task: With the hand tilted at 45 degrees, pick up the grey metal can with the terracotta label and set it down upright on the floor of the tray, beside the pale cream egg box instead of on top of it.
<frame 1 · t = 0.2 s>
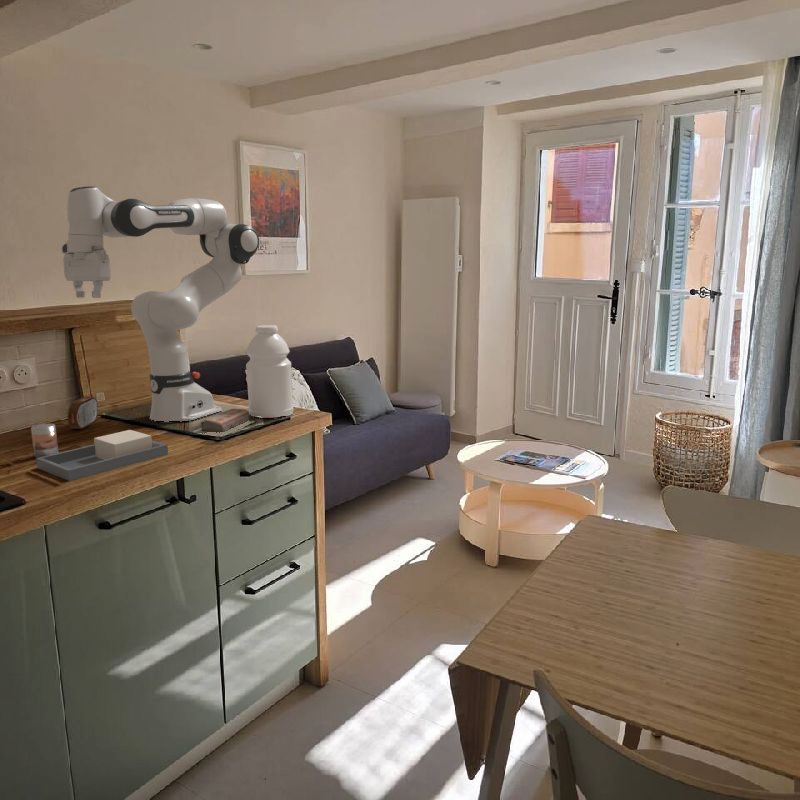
hand: (88, 297, 200), 39 cm above the table, tool pointing down, fingers open, 8 cm apart
brown grey rounded block: (85, 426, 218), on the table
bottle: (271, 414, 229), on the table
tray: (104, 462, 181), on the table
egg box: (124, 455, 186), resting on tray
packaged product: (225, 430, 213), on the table
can: (46, 456, 188), on the table
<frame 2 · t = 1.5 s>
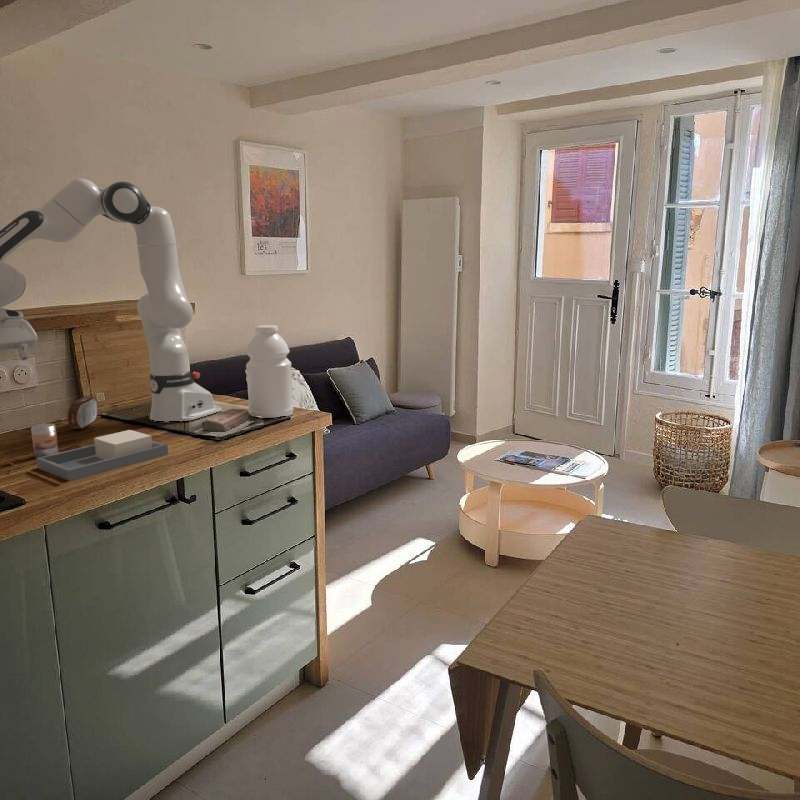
hand: (7, 360, 193), 24 cm above the table, tool tilted 45°, fingers open, 8 cm apart
nothing on the table moved.
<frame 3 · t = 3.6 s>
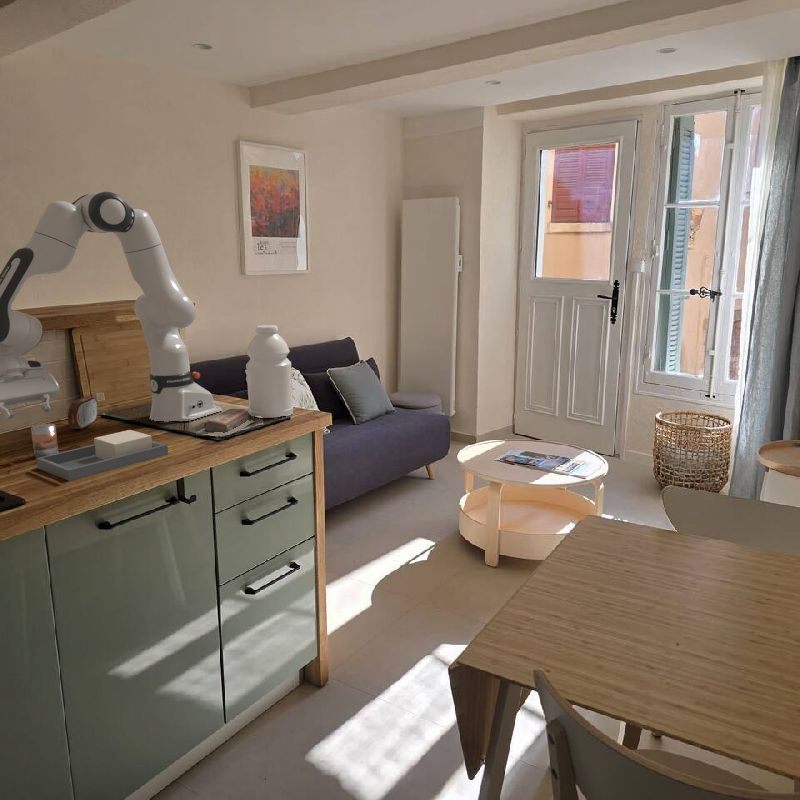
hand: (29, 413, 190), 10 cm above the table, tool tilted 45°, fingers open, 8 cm apart
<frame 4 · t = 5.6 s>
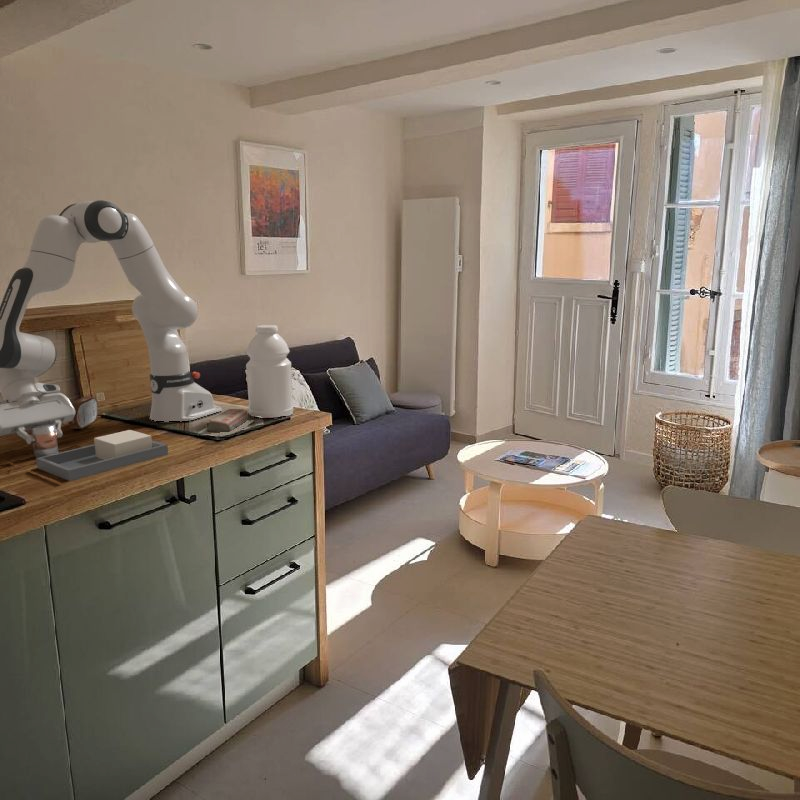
hand: (45, 439, 187), 5 cm above the table, tool tilted 45°, fingers closed on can, 6 cm apart
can: (46, 456, 188), on the table, touching gripper
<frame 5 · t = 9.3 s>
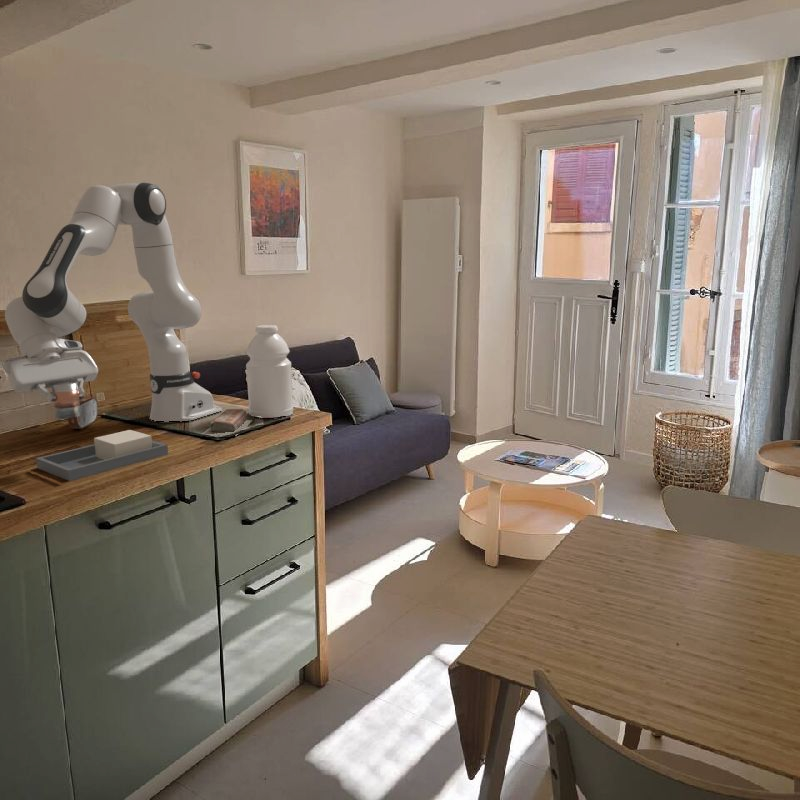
hand: (67, 397, 174), 18 cm above the table, tool tilted 45°, fingers closed on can, 6 cm apart
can: (68, 415, 176), point 13 cm above the table, touching gripper
when the fingers open (6 cm above the table, at t = 12.8 s): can drops 1 cm, resting on tray.
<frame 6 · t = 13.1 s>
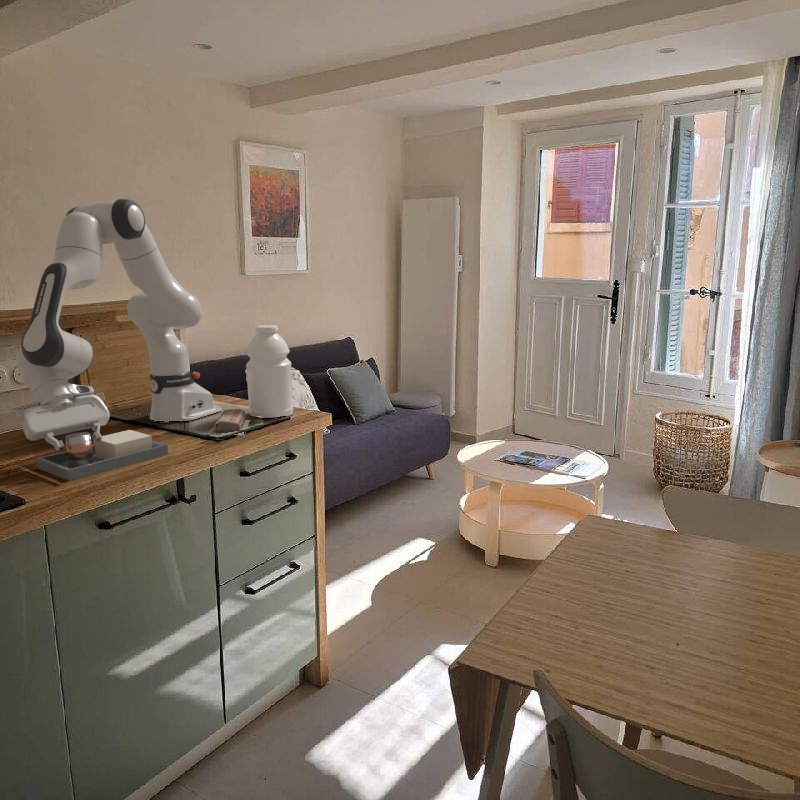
hand: (80, 444, 175), 6 cm above the table, tool tilted 45°, fingers open, 8 cm apart
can: (81, 466, 177), point 1 cm above the table, touching tray
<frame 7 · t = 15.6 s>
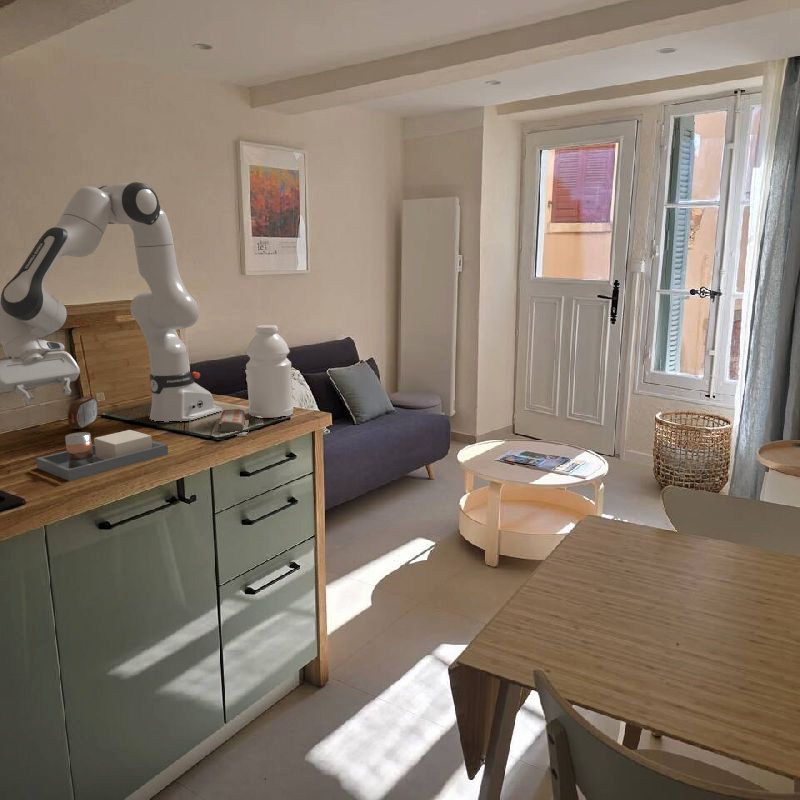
hand: (49, 397, 181), 16 cm above the table, tool tilted 45°, fingers open, 8 cm apart
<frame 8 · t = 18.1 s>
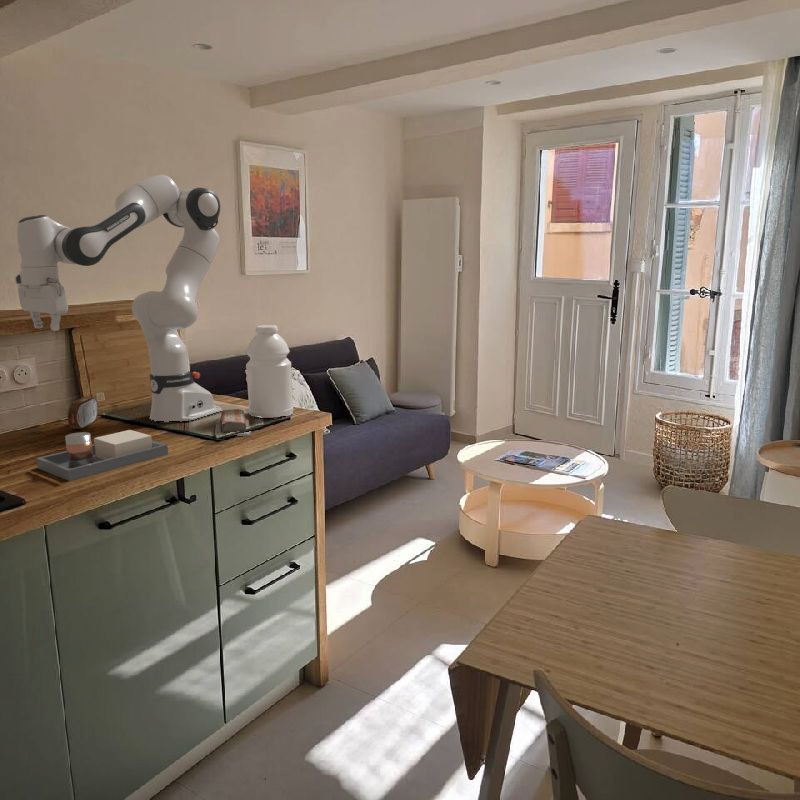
hand: (46, 329, 197), 31 cm above the table, tool pointing down, fingers open, 8 cm apart
at the end: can inside the target area on the tray (0.3 cm from its centre), point 0.5 cm above the tray's base; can tilted 0°; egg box moved 0.0 cm from its start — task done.
